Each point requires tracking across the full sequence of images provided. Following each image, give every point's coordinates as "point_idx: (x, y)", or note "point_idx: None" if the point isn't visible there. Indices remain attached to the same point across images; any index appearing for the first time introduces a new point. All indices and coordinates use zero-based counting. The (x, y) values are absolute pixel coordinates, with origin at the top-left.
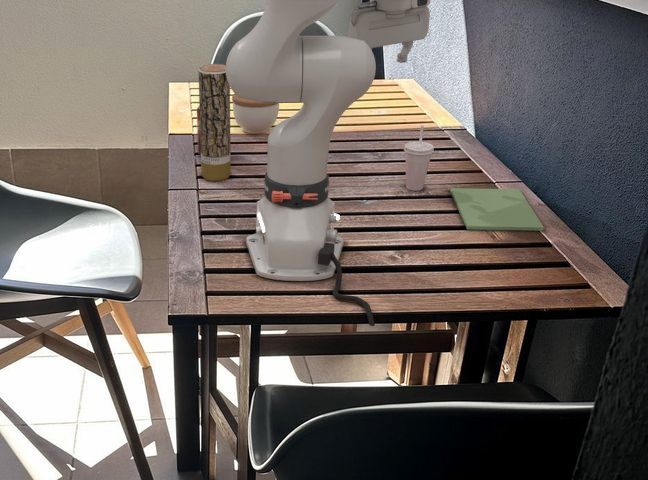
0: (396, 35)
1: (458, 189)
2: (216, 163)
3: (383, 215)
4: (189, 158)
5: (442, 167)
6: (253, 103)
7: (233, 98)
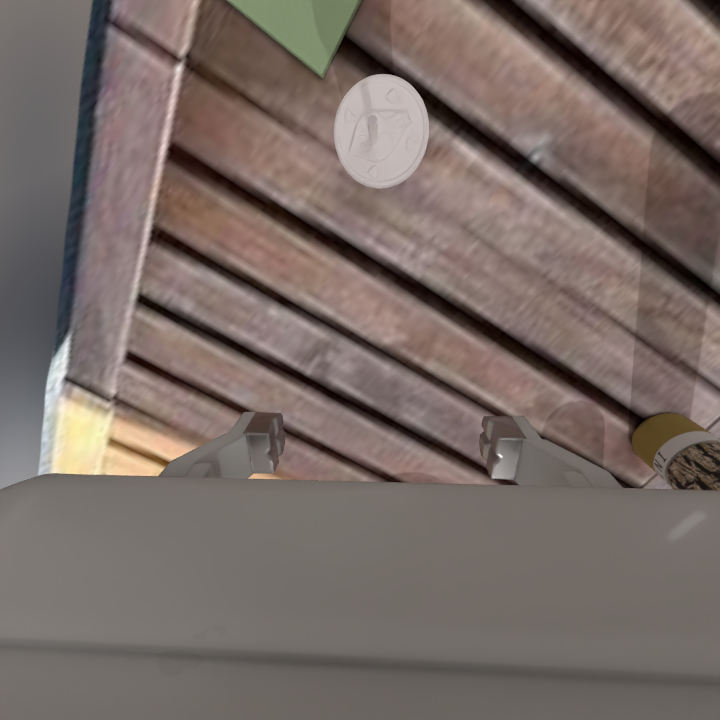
0: (347, 535)
1: (309, 52)
2: (715, 436)
3: (577, 38)
4: None
5: (239, 228)
6: None
7: None
